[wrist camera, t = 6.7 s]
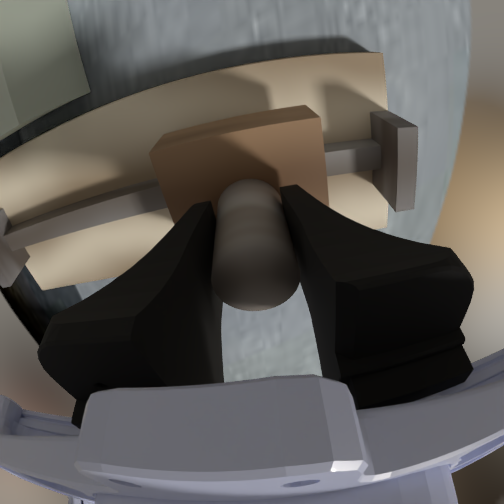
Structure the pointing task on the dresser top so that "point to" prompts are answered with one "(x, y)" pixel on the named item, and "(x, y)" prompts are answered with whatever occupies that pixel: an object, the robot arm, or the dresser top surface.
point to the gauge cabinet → (37, 61)
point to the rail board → (176, 118)
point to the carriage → (246, 195)
